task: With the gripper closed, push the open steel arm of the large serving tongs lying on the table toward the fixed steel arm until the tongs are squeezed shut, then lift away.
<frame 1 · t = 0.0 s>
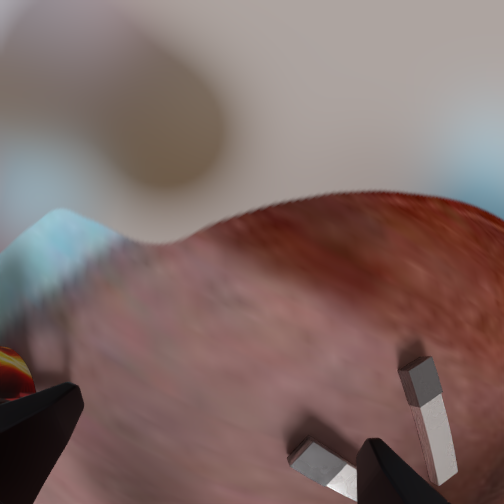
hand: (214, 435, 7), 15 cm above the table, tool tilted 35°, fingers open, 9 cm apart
mug: (19, 383, 20), on the table
tong arm: (379, 495, 16), point 1 cm above the table, hinge at 30.0°
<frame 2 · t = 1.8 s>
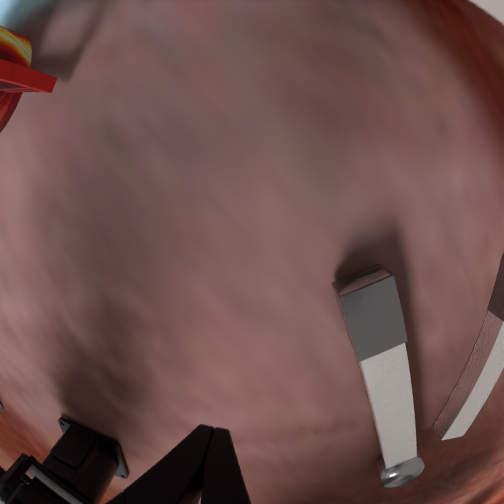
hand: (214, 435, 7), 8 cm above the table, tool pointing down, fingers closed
mug: (11, 77, 13), on the table
tong arm: (392, 412, 14), point 1 cm above the table, hinge at 30.0°
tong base: (396, 455, 17), on the table
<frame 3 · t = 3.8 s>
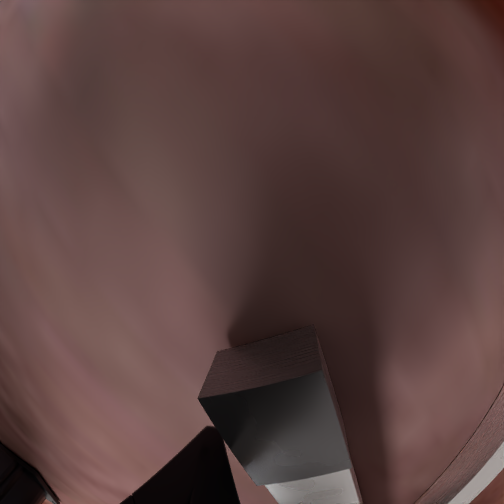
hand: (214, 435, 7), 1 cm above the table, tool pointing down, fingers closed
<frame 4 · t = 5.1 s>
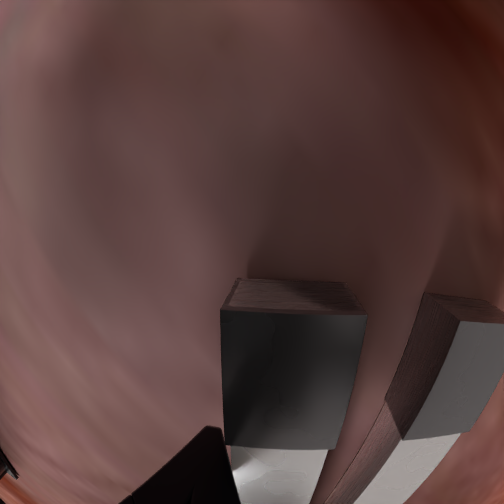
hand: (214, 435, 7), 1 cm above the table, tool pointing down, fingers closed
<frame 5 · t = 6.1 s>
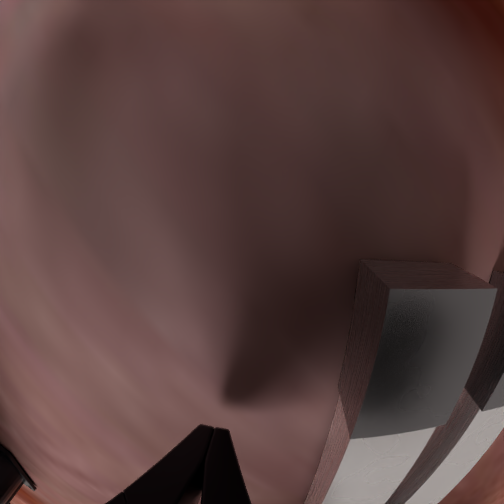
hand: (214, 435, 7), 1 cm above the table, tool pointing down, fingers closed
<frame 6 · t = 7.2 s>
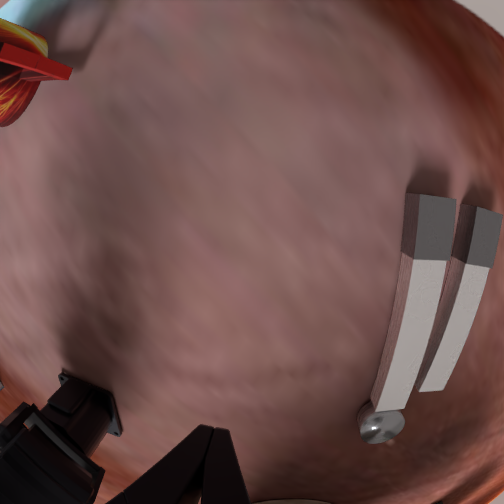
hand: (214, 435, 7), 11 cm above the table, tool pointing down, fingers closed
mug: (29, 69, 16), on the table
tong arm: (407, 341, 17), point 1 cm above the table, hinge at 5.4°
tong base: (377, 410, 20), on the table
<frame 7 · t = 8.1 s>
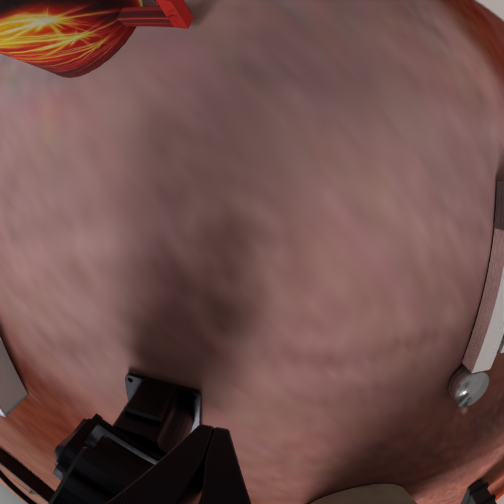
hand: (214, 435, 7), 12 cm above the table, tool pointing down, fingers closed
mug: (113, 19, 15), on the table
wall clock: (34, 487, 37), on the table
magazine: (470, 490, 24), on the table
tong arm: (497, 305, 16), point 1 cm above the table, hinge at 5.4°
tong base: (462, 377, 19), on the table
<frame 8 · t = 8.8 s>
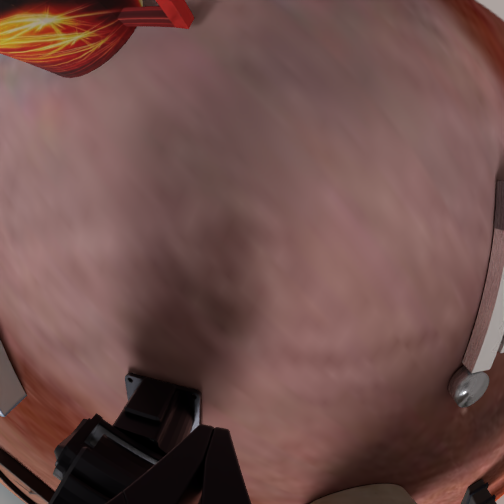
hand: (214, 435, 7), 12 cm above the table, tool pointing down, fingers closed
mug: (114, 19, 15), on the table
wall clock: (34, 486, 37), on the table
magazine: (470, 490, 24), on the table
tong arm: (497, 305, 16), point 1 cm above the table, hinge at 5.4°
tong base: (462, 377, 19), on the table
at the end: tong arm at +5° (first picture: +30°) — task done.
